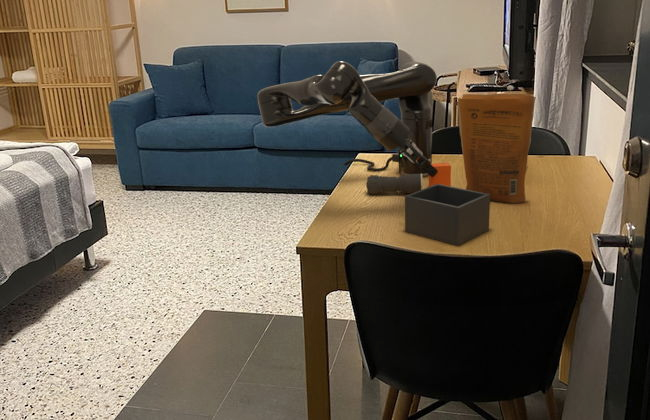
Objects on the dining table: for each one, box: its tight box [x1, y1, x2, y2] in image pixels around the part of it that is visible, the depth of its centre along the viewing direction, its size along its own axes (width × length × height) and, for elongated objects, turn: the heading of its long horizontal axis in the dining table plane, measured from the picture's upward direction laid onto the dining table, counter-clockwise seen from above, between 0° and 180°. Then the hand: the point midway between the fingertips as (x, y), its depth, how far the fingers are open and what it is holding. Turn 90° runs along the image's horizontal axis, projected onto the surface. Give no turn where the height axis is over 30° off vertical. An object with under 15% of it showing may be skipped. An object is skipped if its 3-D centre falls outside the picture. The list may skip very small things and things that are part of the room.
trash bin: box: [404, 184, 491, 246], centre depth 152 cm, size 15×13×9 cm
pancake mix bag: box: [456, 93, 536, 204], centre depth 169 cm, size 7×19×28 cm, turn 58°
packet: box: [428, 162, 452, 187], centre depth 169 cm, size 5×3×11 cm, turn 93°
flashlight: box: [365, 174, 424, 195], centre depth 182 cm, size 15×5×5 cm, turn 83°
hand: (431, 170), depth 167 cm, fingers open, 8 cm apart
